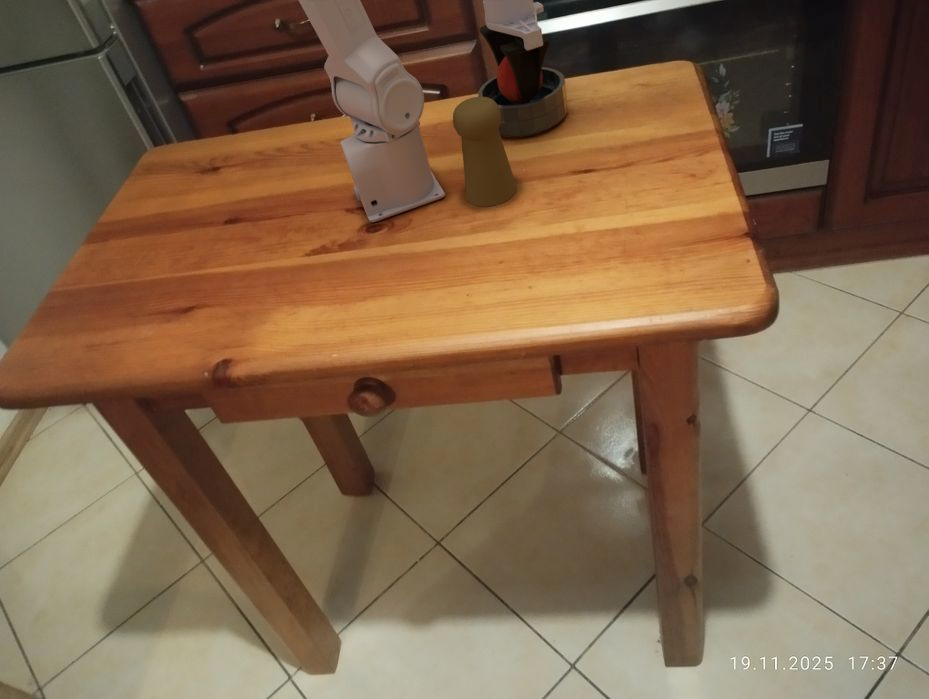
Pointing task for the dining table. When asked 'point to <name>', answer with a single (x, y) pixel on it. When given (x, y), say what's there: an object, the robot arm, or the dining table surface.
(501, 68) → the onion
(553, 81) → the bowl
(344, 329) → the dining table surface
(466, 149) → the olive pawn
